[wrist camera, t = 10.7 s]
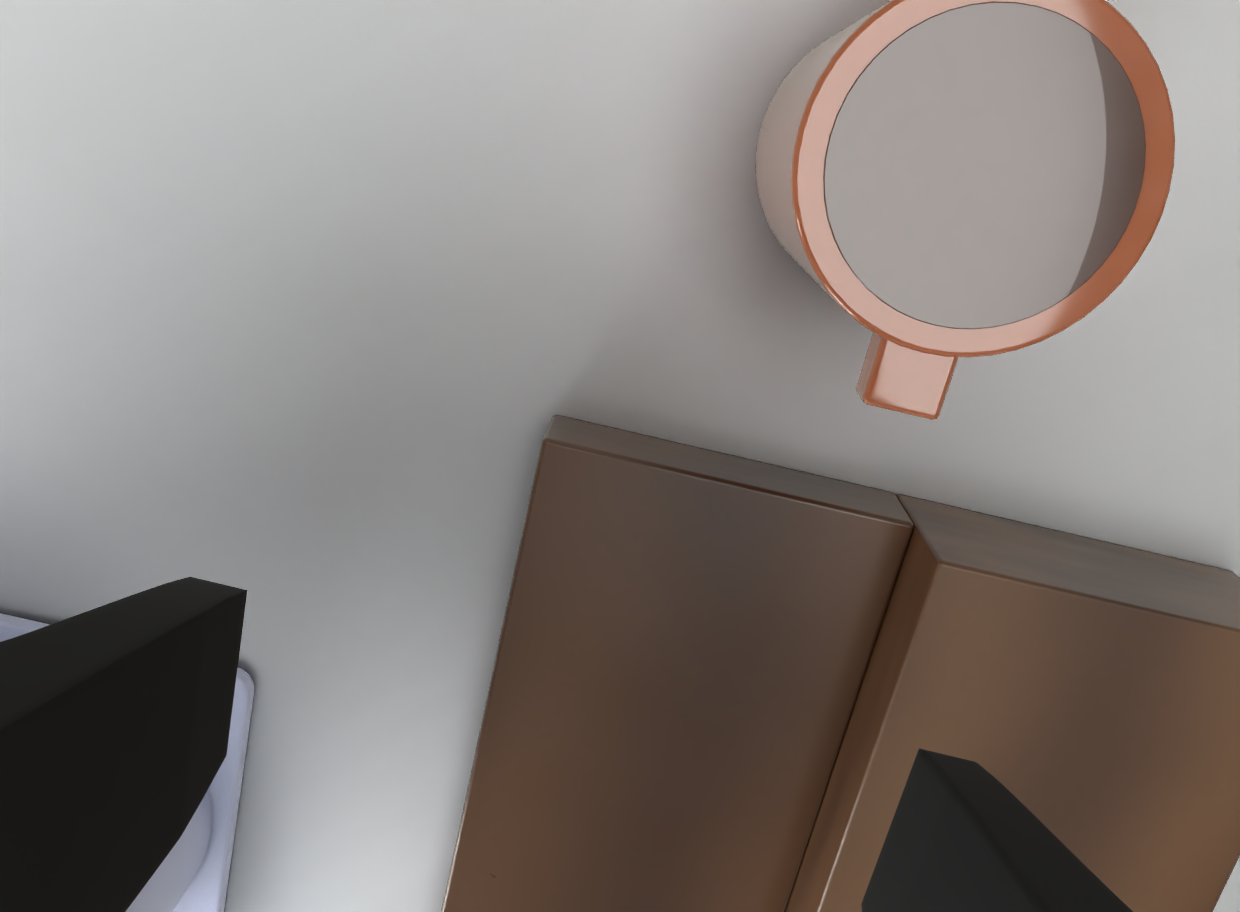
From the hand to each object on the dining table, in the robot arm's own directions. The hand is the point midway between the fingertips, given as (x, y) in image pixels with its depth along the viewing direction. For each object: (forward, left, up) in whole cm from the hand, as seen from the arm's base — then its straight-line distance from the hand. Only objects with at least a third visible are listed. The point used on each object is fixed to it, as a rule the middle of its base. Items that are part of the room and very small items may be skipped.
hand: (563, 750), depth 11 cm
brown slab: (+6, -7, -10) cm, 14 cm away
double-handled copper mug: (+4, +7, -10) cm, 13 cm away
